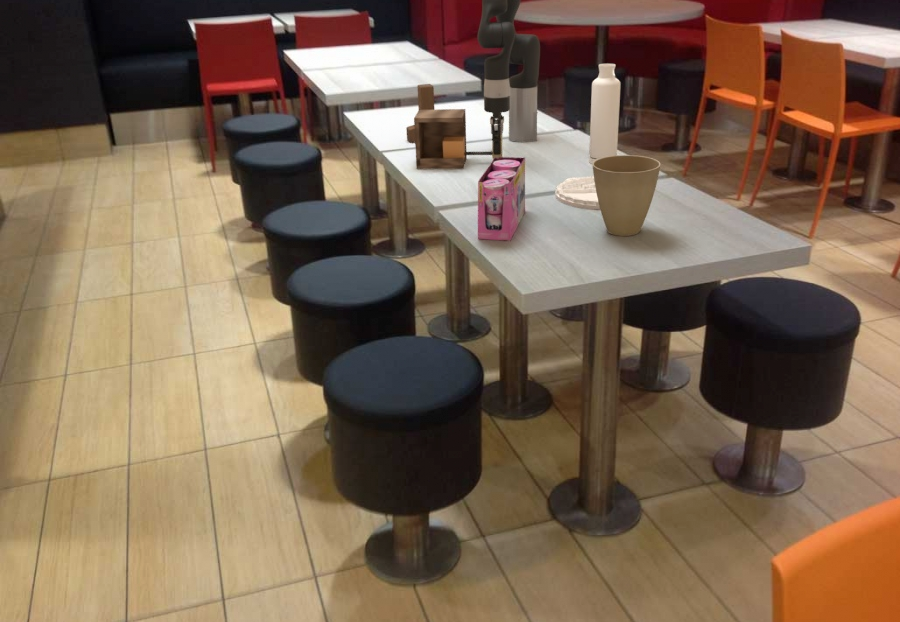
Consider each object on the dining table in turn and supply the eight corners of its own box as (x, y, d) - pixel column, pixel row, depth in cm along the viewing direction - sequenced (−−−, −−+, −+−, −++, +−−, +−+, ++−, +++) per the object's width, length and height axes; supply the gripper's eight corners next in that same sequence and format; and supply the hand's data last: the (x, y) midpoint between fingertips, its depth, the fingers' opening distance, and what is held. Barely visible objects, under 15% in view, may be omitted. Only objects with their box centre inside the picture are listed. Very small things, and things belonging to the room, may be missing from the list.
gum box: (510, 243, 188) (510, 185, 182) (475, 241, 190) (474, 183, 184) (525, 210, 209) (526, 157, 203) (494, 209, 211) (494, 156, 205)
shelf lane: (466, 158, 257) (465, 109, 251) (463, 168, 246) (462, 117, 240) (421, 158, 258) (419, 109, 252) (416, 168, 248) (414, 118, 241)
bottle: (614, 166, 243) (619, 67, 231) (586, 164, 246) (590, 66, 234) (618, 159, 250) (623, 63, 238) (591, 157, 252) (595, 62, 241)
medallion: (586, 216, 204) (587, 207, 203) (532, 189, 226) (532, 180, 225) (665, 202, 212) (666, 193, 211) (605, 176, 235) (605, 168, 234)
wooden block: (409, 143, 277) (406, 87, 270) (406, 140, 281) (403, 85, 274) (436, 140, 279) (433, 85, 272) (432, 137, 283) (430, 83, 276)
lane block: (502, 155, 253) (502, 125, 249) (502, 160, 247) (501, 130, 243) (445, 156, 254) (444, 126, 251) (443, 161, 249) (442, 131, 245)
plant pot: (623, 216, 202) (627, 151, 195) (669, 232, 190) (675, 164, 184) (576, 229, 195) (578, 162, 188) (620, 246, 183) (624, 176, 177)
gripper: (508, 98, 235) (509, 158, 243) (510, 89, 248) (510, 147, 255) (482, 99, 236) (483, 159, 244) (485, 90, 249) (486, 147, 256)
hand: (497, 152), depth 249 cm, fingers closed on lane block, 3 cm apart
